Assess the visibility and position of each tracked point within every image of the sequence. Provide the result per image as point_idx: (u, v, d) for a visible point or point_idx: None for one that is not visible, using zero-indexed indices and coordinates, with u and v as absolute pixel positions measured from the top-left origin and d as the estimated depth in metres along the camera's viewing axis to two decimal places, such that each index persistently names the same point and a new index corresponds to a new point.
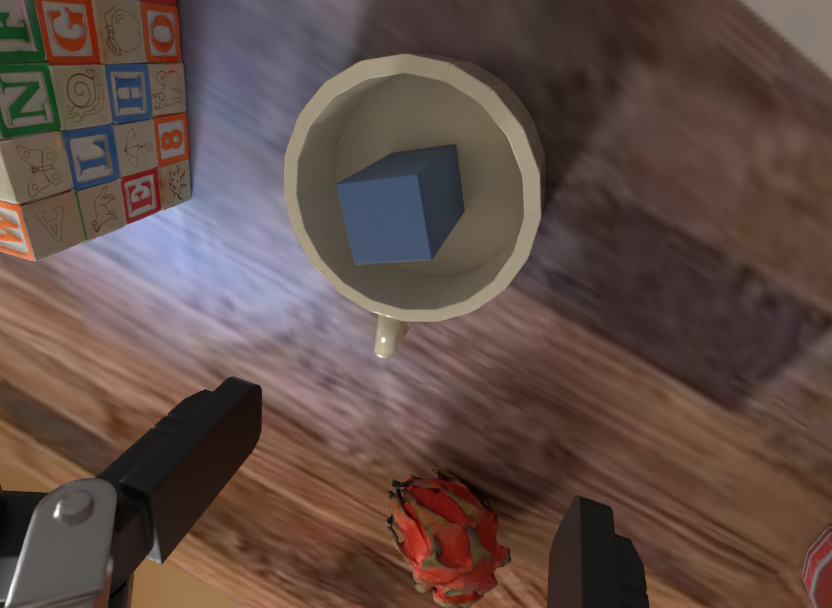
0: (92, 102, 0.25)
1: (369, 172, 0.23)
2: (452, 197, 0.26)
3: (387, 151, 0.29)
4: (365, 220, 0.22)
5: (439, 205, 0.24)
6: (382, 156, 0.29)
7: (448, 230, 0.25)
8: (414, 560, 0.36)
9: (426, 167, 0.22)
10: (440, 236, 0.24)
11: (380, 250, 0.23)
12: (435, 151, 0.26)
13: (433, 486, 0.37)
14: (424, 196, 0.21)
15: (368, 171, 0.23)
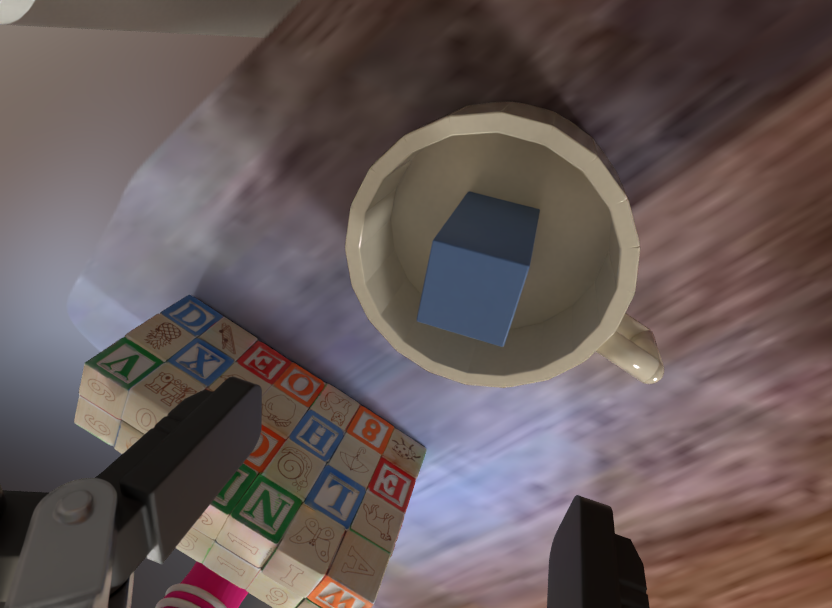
0: (303, 465, 0.30)
1: None
2: (506, 215, 0.24)
3: None
4: (461, 313, 0.21)
5: (491, 232, 0.21)
6: None
7: (529, 234, 0.22)
8: None
9: (441, 228, 0.21)
10: (521, 245, 0.20)
11: (496, 314, 0.20)
12: None
13: None
14: (459, 243, 0.19)
15: None
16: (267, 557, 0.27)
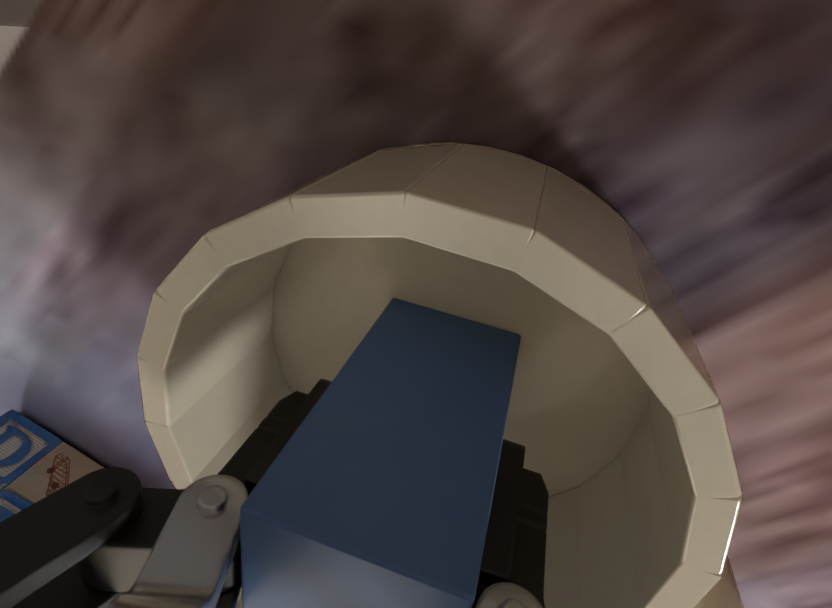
0: None
1: None
2: (451, 367, 0.12)
3: None
4: None
5: (405, 441, 0.10)
6: None
7: (491, 433, 0.10)
8: None
9: (285, 447, 0.09)
10: (465, 490, 0.09)
11: None
12: None
13: None
14: (307, 514, 0.08)
15: None
16: None
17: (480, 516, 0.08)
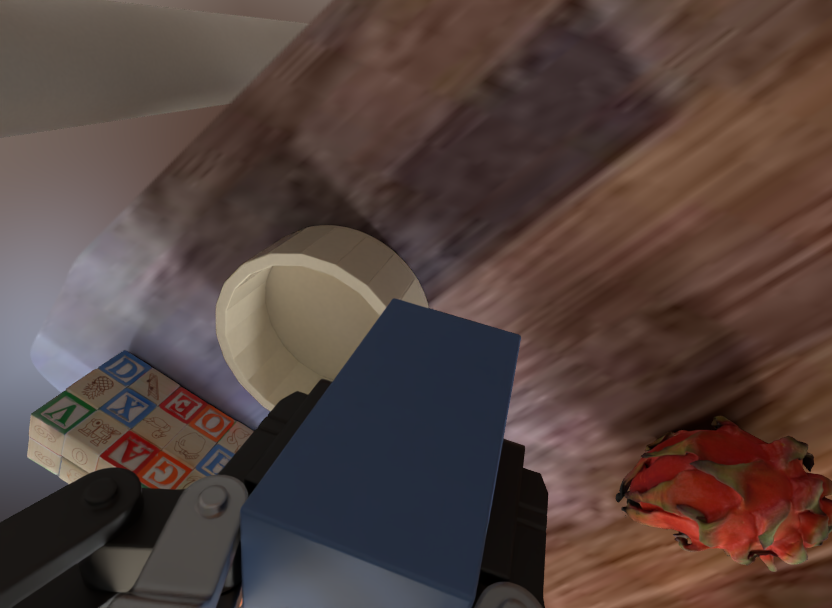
0: None
1: None
2: (451, 368, 0.12)
3: (311, 332, 0.37)
4: None
5: (405, 442, 0.10)
6: (314, 337, 0.37)
7: (491, 433, 0.10)
8: (708, 545, 0.28)
9: (285, 447, 0.09)
10: (465, 491, 0.09)
11: None
12: None
13: (640, 464, 0.31)
14: (307, 516, 0.08)
15: None
16: None
17: (480, 517, 0.08)
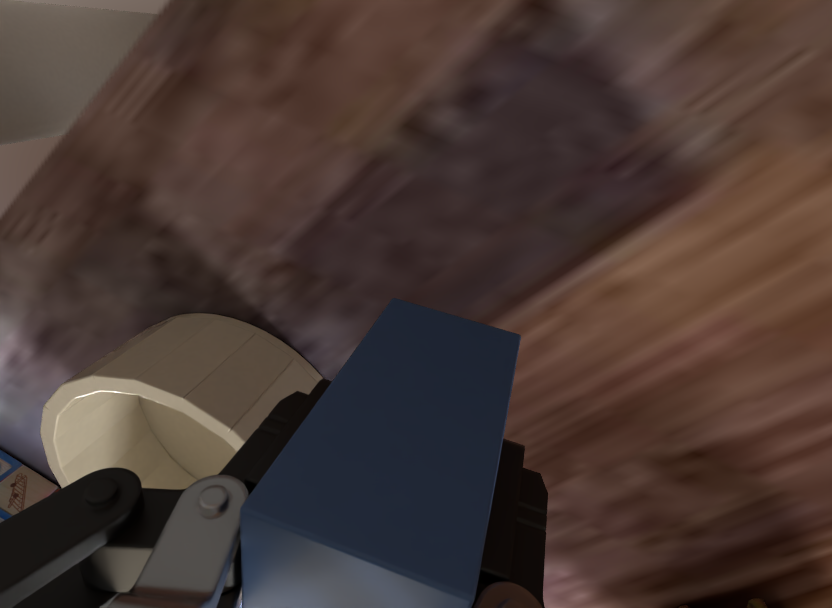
0: None
1: None
2: (451, 368, 0.12)
3: (202, 444, 0.27)
4: None
5: (405, 442, 0.10)
6: (206, 450, 0.28)
7: (490, 433, 0.10)
8: None
9: (285, 447, 0.09)
10: (465, 490, 0.09)
11: None
12: None
13: None
14: (307, 514, 0.08)
15: None
16: None
17: (480, 517, 0.08)
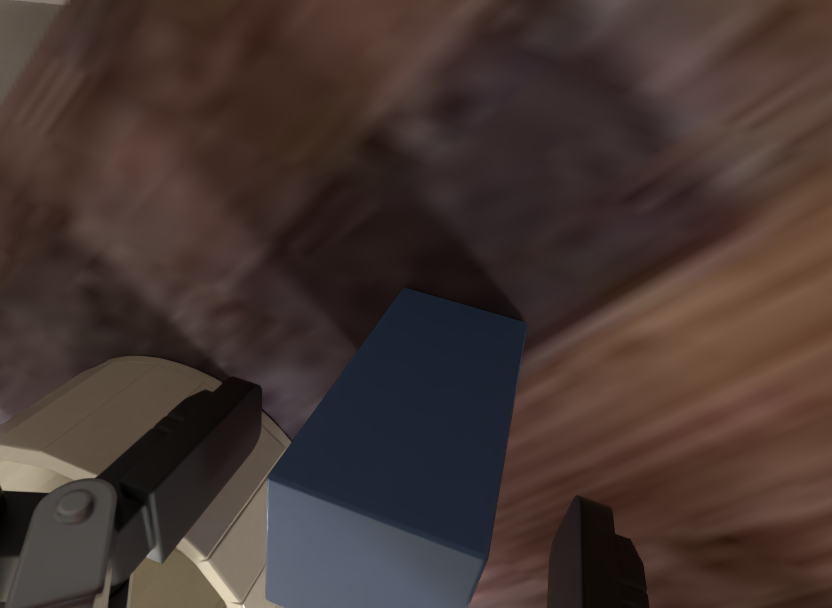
0: None
1: None
2: (461, 352, 0.13)
3: None
4: (347, 606, 0.10)
5: (419, 418, 0.10)
6: None
7: (500, 412, 0.11)
8: None
9: (306, 422, 0.10)
10: (476, 463, 0.09)
11: None
12: None
13: None
14: (330, 482, 0.08)
15: None
16: None
17: (491, 486, 0.09)
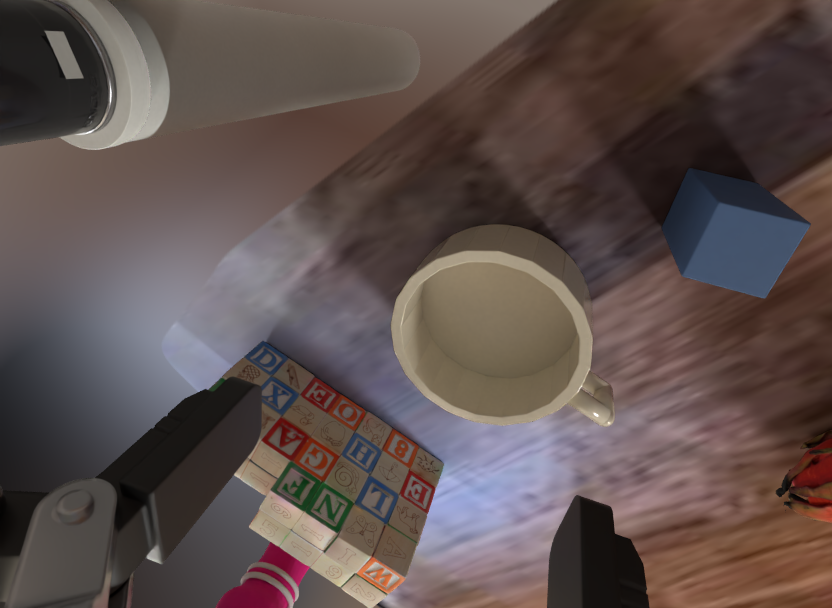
0: (352, 476, 0.40)
1: (683, 246, 0.25)
2: (742, 187, 0.27)
3: (464, 327, 0.38)
4: (729, 268, 0.24)
5: (751, 198, 0.24)
6: (466, 332, 0.39)
7: (778, 201, 0.25)
8: None
9: (712, 194, 0.24)
10: (785, 209, 0.23)
11: (767, 268, 0.23)
12: (689, 186, 0.28)
13: (807, 460, 0.32)
14: (741, 205, 0.23)
15: (681, 247, 0.26)
16: (329, 543, 0.37)
17: (796, 213, 0.23)
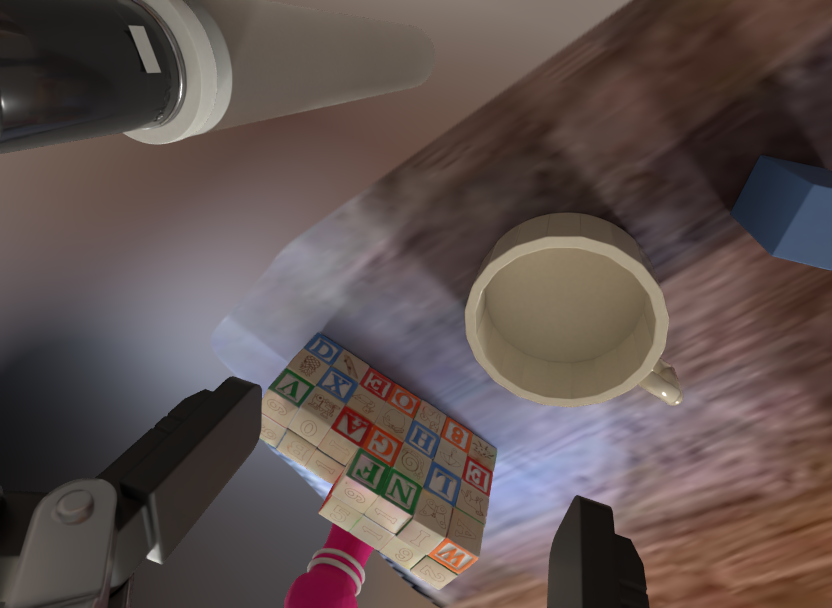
0: (417, 461, 0.41)
1: (768, 228, 0.27)
2: (819, 172, 0.28)
3: (527, 313, 0.40)
4: (819, 246, 0.25)
5: None
6: (529, 318, 0.40)
7: None
8: None
9: (802, 177, 0.25)
10: None
11: None
12: (764, 172, 0.29)
13: None
14: None
15: (764, 229, 0.27)
16: (402, 526, 0.38)
17: None
